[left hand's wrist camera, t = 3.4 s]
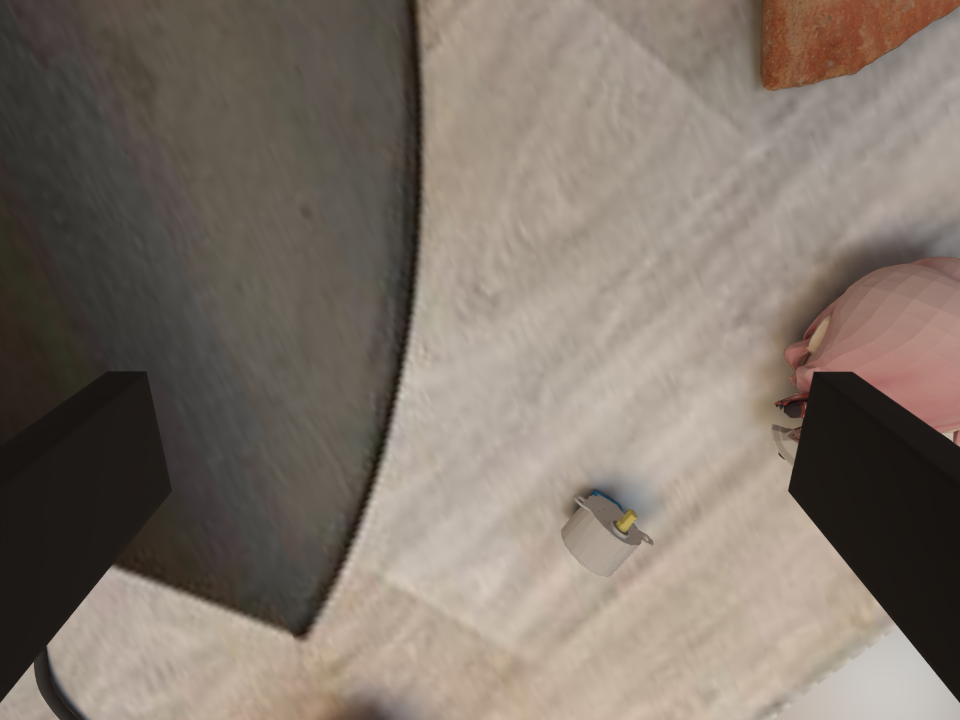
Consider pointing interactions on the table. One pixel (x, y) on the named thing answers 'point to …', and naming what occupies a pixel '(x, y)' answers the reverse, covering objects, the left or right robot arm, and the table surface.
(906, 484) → the left robot arm
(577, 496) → the electric motor
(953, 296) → the toy
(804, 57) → the ceramic shard
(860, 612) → the table surface
